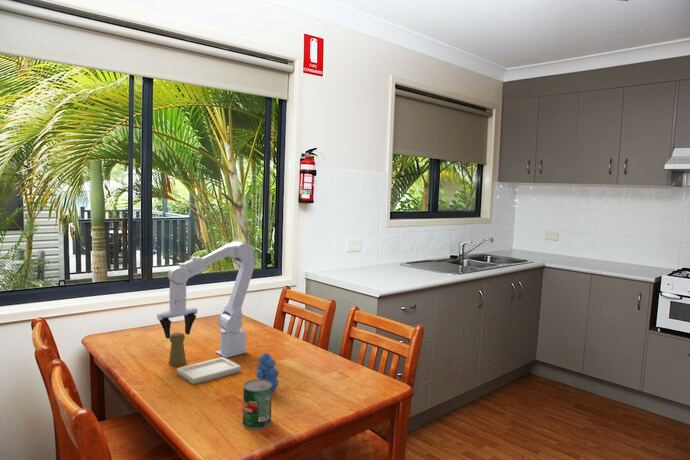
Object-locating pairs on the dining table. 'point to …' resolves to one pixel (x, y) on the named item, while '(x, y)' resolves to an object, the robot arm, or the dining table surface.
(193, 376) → the white tray
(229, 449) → the dining table surface
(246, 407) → the canned tomato
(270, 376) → the grapes
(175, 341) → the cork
